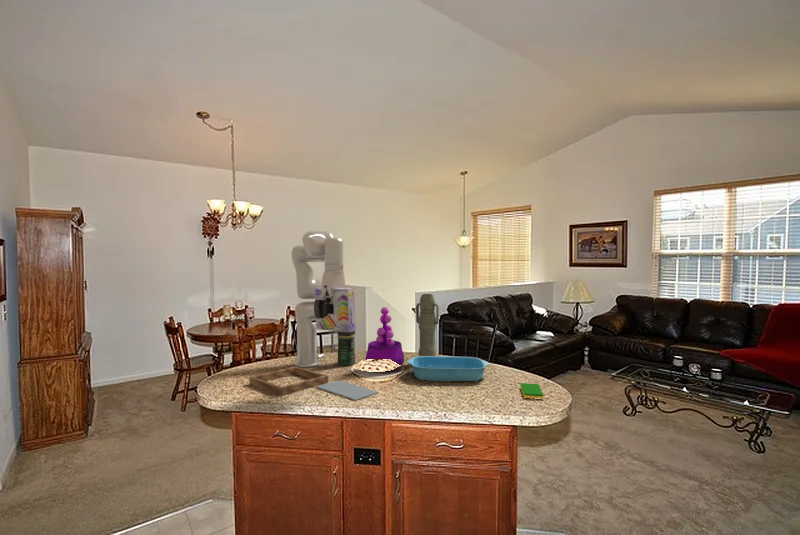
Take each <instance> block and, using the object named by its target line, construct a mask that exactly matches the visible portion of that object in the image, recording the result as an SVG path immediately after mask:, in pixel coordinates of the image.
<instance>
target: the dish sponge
mask: <svg viewBox="0 0 800 535" xmlns="http://www.w3.org/2000/svg"><path fill="white" fill-rule="evenodd" d="M519 384H520V386H519V387H521V388H520V391H521V390H522V391H521V393H523V394H522V397H523V396H524V397H523V398H541V399H543V400H544V393H543V390H542V389H541V387H540V385H539V383H525V382H523V383H522V382H521V383H519Z"/></svg>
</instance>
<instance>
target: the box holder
mask: <svg viewBox="0 0 800 535" xmlns="http://www.w3.org/2000/svg"><path fill="white" fill-rule="evenodd" d="M293 375H297V376H300V377H304V378H306V377H307V378H306V380H303V381H298V382H295V383H291V384H289V385H284V386H280V385H278V384H274V383H272V382H269V381H268V380H270V381H273V380H272V379H274V380H277V379H281V378H285V377H289V376H293ZM276 378H277V379H276ZM309 378H310V379H309ZM327 382H328V383H329V375H328V374H324V373H320V372H316V371H314V370H309V369H306V368H305V367H297V366H295V365H294V366H292V367H287V368H284V369H279V370H275V371H271V372H267V373H262V374H257V375H254V376H250V377H249V385H250V384H252V385H251V386H253V385H254V386H253V387H255V386H257V387H256V388H258V387H259V388H258V389H260V388H262V389H261V390H263V389H264V390H263V391H265V390H267V391H266V392H268V391H269V392H268V393H271V394H273V393H274V394H273V395H276V396H278V397H284V396H287V395H291V394H293V393H297V391H298V392H301V391H304V389H305V390H307V388H308V389H311V388H315V387H317V385H318V386H320V385H321V384H322V385H324V383H325V384H327ZM314 386H315V387H314ZM300 390H301V391H300Z"/></svg>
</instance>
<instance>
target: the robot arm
mask: <svg viewBox="0 0 800 535" xmlns="http://www.w3.org/2000/svg"><path fill="white" fill-rule="evenodd" d="M301 240H302V244H299V245H294V246H293V248H292V249H291V261H292V264H293V266H294V270H295V273H296V276H295V278H296V292H297V297H298V298H299V299H302V300H312V301H302V302H299V303H297V304H296V305H295V308H294V314H295V321H296V341H297V342H296V344H297V347H296V348H297V349H296V350H297V352H296V356H297V359H296V361H294V362H293V364H294V367H295V366H297V367H300V368H313V367H317V366H319V365H320V364H321V361H320V359H324V358H325V354H323V353H321V354H318V353H317V350H318V349H317V346H318V345H317V329H316V325H314V323H312V321H316V317H315V313H314V302H315V288H319V287H322V296H321V297H322V298H323V299H324V301H325V303H326V304H327V314H333V313H334V307H333V304H332V303H333V296H334V292H335V289H337V288H346V279H345V272H344V240H343V239H341V238H340V237H339V238H338V237H334V235H333V234H332V233H331V232H329V231H315V230H312V231H308V232H305V233H304V234H303V236H302V239H301ZM309 263H324V271H323V274H322V279H315V277H314V269H313V268H312V266H311V265H310V264H309ZM329 298H330V299H329ZM313 300H314V301H313Z"/></svg>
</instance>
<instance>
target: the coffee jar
mask: <svg viewBox="0 0 800 535" xmlns="http://www.w3.org/2000/svg"><path fill="white" fill-rule="evenodd" d="M355 342H356V330H355V331H354V332H339V331H337V365H339V366H341V367H346V366H351V365H354V364H355V363H356V350H355V349H356V345H355Z"/></svg>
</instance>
